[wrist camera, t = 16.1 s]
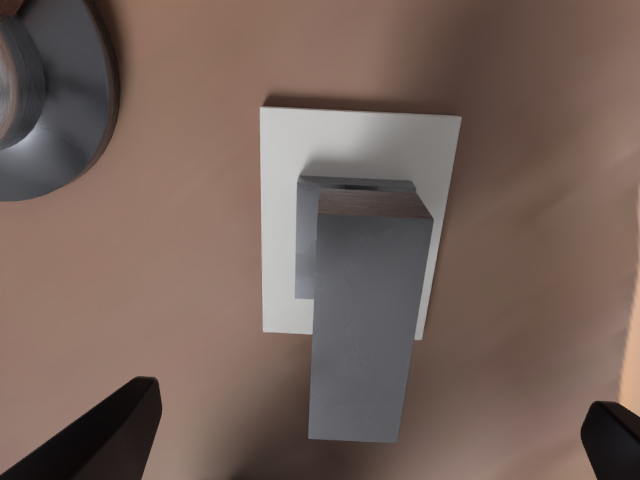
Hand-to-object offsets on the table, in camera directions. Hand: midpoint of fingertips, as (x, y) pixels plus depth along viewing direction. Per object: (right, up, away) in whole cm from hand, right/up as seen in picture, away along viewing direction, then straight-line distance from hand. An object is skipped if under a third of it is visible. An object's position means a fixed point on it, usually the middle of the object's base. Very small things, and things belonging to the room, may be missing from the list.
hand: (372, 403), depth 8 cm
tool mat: (0, +4, +9) cm, 10 cm away
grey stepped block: (0, +4, +8) cm, 9 cm away
